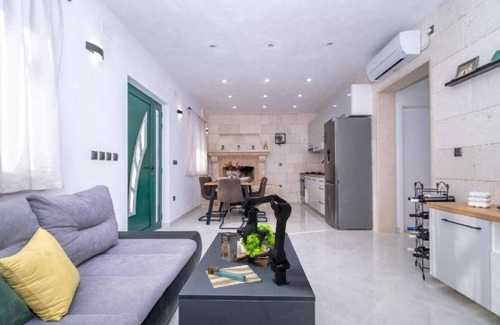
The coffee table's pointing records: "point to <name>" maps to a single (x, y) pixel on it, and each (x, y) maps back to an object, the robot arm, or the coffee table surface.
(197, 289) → the coffee table surface
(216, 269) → the keeper
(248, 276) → the base board
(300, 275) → the coffee table surface
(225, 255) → the coffee box
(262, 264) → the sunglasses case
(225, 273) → the link bar
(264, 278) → the coffee table surface
